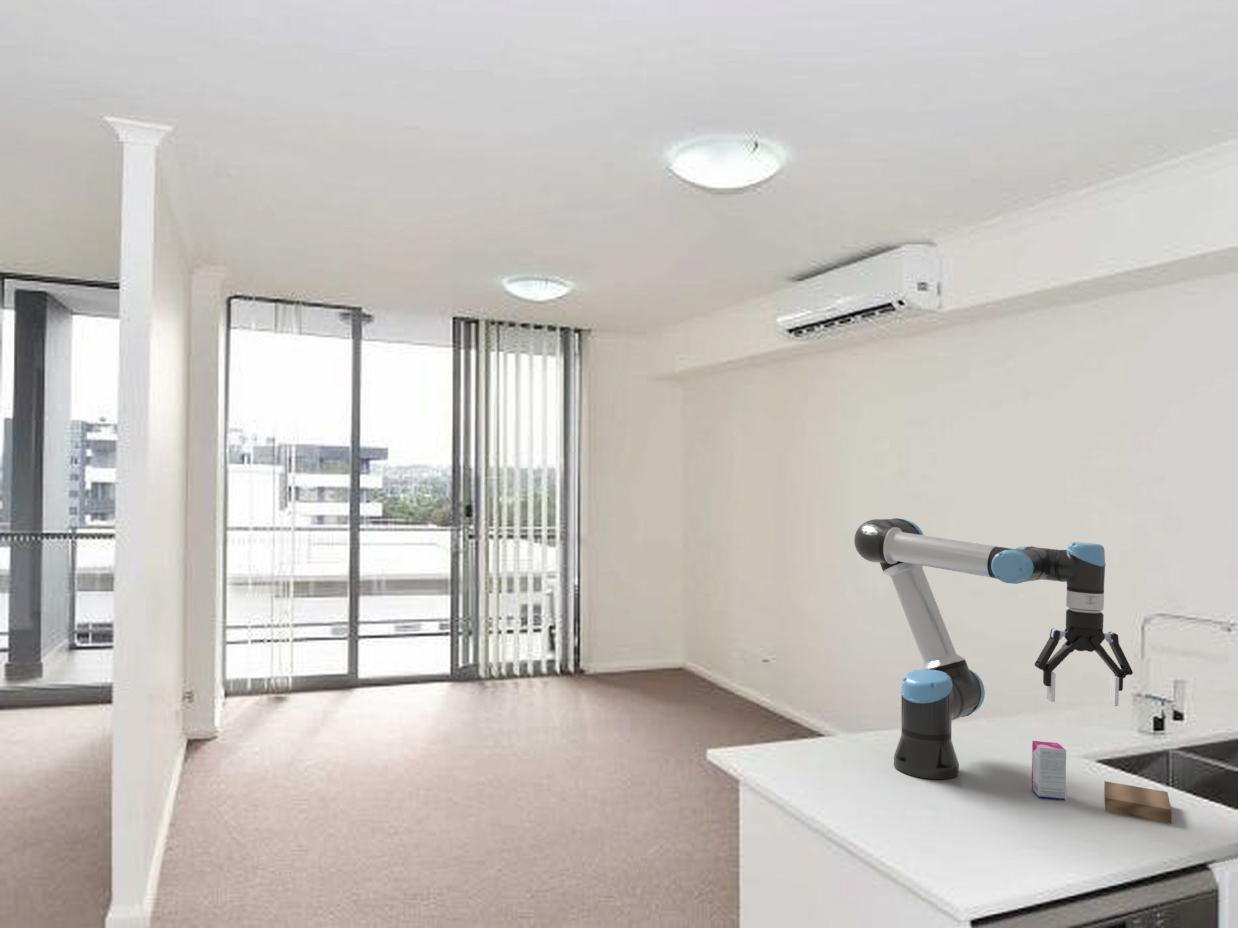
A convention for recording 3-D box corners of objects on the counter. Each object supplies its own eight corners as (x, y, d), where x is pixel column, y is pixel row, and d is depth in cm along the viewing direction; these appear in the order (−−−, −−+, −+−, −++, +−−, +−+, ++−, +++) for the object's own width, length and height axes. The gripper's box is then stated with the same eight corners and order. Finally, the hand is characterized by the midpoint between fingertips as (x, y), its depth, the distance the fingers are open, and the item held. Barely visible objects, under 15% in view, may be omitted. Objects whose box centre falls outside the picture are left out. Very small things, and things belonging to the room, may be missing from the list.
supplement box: (1066, 801, 182) (1066, 749, 182) (1038, 798, 183) (1038, 747, 184) (1058, 792, 188) (1058, 741, 188) (1030, 789, 189) (1030, 739, 189)
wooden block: (1104, 811, 176) (1104, 797, 177) (1104, 794, 187) (1104, 780, 187) (1171, 823, 170) (1171, 809, 170) (1167, 805, 181) (1167, 791, 181)
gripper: (1033, 609, 186) (1030, 702, 186) (1151, 615, 183) (1148, 710, 182) (1021, 604, 193) (1019, 694, 193) (1134, 610, 190) (1132, 701, 190)
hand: (1082, 702), depth 188 cm, fingers open, 13 cm apart
